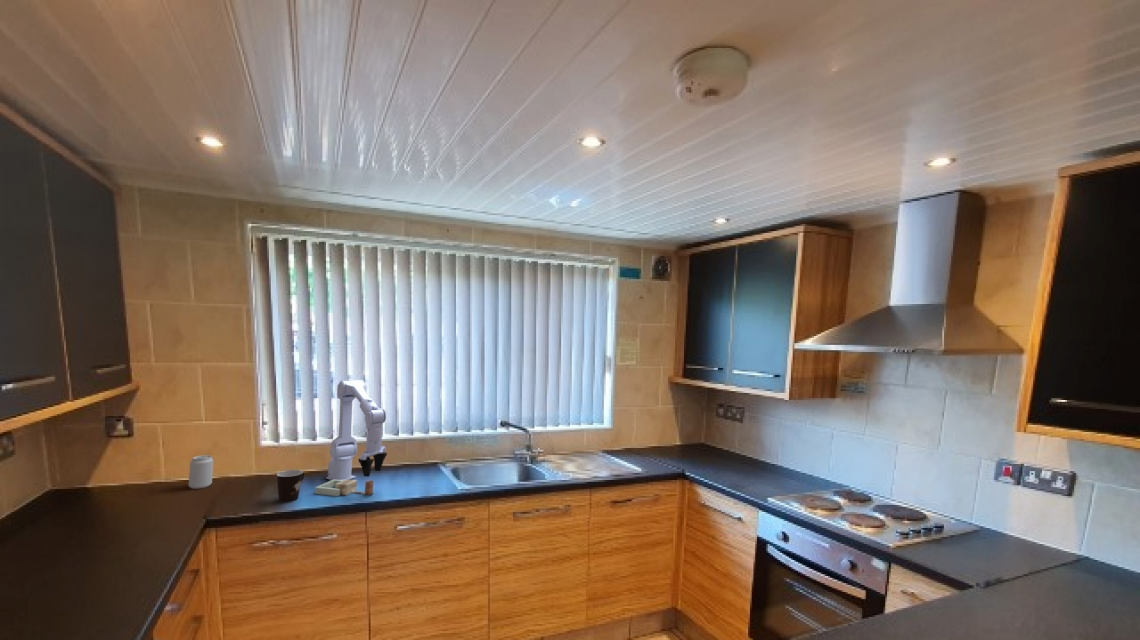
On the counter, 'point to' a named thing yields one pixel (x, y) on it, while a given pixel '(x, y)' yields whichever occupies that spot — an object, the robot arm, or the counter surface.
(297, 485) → the coffee mug
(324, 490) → the lane
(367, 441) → the robot arm
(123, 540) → the counter surface
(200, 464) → the can
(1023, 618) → the counter surface
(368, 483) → the wooden toy mallet
